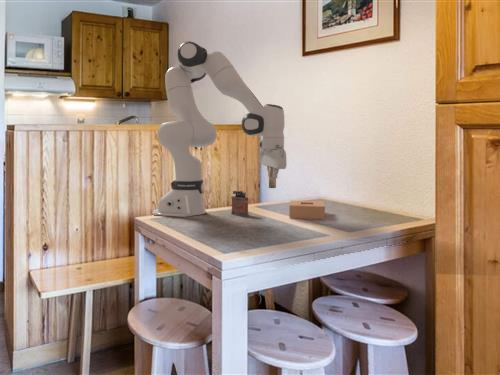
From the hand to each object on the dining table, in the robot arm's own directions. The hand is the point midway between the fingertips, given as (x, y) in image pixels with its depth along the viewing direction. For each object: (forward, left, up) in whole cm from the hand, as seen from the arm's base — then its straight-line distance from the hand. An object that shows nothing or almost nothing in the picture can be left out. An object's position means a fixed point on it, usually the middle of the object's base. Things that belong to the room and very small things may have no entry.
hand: (272, 177), depth 185 cm
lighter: (-14, -1, -16) cm, 21 cm away
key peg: (0, 0, -4) cm, 4 cm away
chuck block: (+14, 0, -16) cm, 21 cm away
